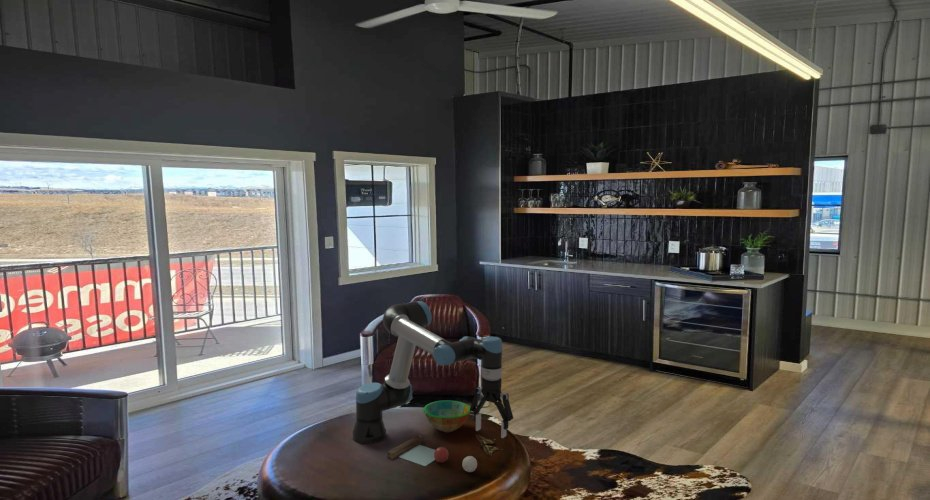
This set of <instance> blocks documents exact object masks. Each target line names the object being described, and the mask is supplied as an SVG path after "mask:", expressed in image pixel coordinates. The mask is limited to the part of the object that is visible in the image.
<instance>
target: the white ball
mask: <svg viewBox="0 0 930 500" xmlns="http://www.w3.org/2000/svg"><path fill="white" fill-rule="evenodd" d="M461 465H462V468H463V470H464V471H466V472H467V473H473V472H475V471H476V469H477V467H478V460H477V459H476V458H475V457H474V456H472V455H468V456H466V457H464V458H463V460H462V463H461Z"/></svg>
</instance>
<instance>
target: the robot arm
mask: <svg viewBox="0 0 930 500" xmlns="http://www.w3.org/2000/svg"><path fill="white" fill-rule="evenodd" d="M382 316H383V317H382V323H383V326H384V328H385V330H386V331H387V332H388V333H390V334H391V335H393V336H395V337H398V338H397V343H396V346H395V350H394V354H393V357H392V358H393V359H392V363H391V367H390V371H389V374H387V375H385V377H384V381H383V384H382V383H379V382H368V383H364V384H362V385H361V386H359V387H358V388H357V390H356V393H355V394H356V395H355V405H356V406H355V408H356V409H355V410H356V411H355V413H356V416H355V417H356V418H355V419H356V420H355V423H354V428H353V431H352V440H353V441H355V442H357V443H360V444H376V443H379V442H381V441H383V440H385V439H386V437H387V428H386V427H385V423H384V420H383V412H385V411H387V410H391V409H395V408H397V407H402V406H404V405H406V404H408V403H409V402H410V400H412V396H413V389H412V388H413V385H412V384H411V381H410V379H409V374H410V370H411V366H412V362H413V359H414V355H415V350H416V347H418V348H420V349H421V350H423V351H425V352H427V354H430V355H432V357H433V360H434V361H435V363H436V364H437V365H438V366H449V365H452V364H454V363H459V362H463V361H465V360H466V361H467V360H470V359H475V360H476V359H477V360H480V361H481V387H480V386H478V387H476V388H474V395H473V399H472V401H471V404H470V411H471V412H473V417H474V418H473V421H474V422H475V431H476V432H479V431H480V430H481V429H482V412H481V410H482V408H483V407H484V405H485V404H486V402H490V403H493V404H494V405H495V406H496V409H497V410H498V412H499V414H500V416H501V418H502V420H501V421H500V423H501V424H500V425H501V426H500V430H501V433H500V434H501V435H500V438H501V439H504V438H505V437H507V430H508V429H509V422H511V421H512V420H514V415H513V411H512V407H511V404H510V400H509V398H510V397H509V396H510V395H509V393H504V392H502V383H503V382H502V380H503V379H502V376H503V374H502V373H503V372H502V370H503V367H502V366H503V365H502V363H503V361H502V358H503V340H502V338H500V337H499V336H491V335H490V336H485V337H483V338H482V339H479V338H476V337H474V336H467V335H466V336H463V337H461V338H460V339H459V340H457V341H454V342H451V341H448V340H447V339H445V338H443V337H441V336H439V335H437V334H436V333H433V332H432V331H430V330H428V329H427V327H428V326H429V325H430V324H431V323H432V311H431V309H430V307H429V306H428V304H427V303H426V302H424V301H421V300H418V301H417V300H416V301H415V300H414V301H412V302H405V303H397V304H392V305H391V306H389V307H388V308H387V309H386V310H385V312H384V314H383V315H382ZM481 394H482V398H481V399H480V397H481ZM479 400H480V401H479Z"/></svg>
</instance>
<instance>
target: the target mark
mask: <svg viewBox="0 0 930 500" xmlns="http://www.w3.org/2000/svg"><path fill="white" fill-rule="evenodd" d="M435 450H436V449H434V448H430V447H427V446H425V445H421V444H418V445H416V446H414V447H413V448H411V449H409V450H407V451H406V452H404V453H402V454H400V455H399V456H398V458H400V459H402V460H406V461H409V462H412V463H414V464H416V465H419V466H423V467H427V466H429V464H431V463H433V462H434V461H436V460H435V458H434V452H435Z"/></svg>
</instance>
